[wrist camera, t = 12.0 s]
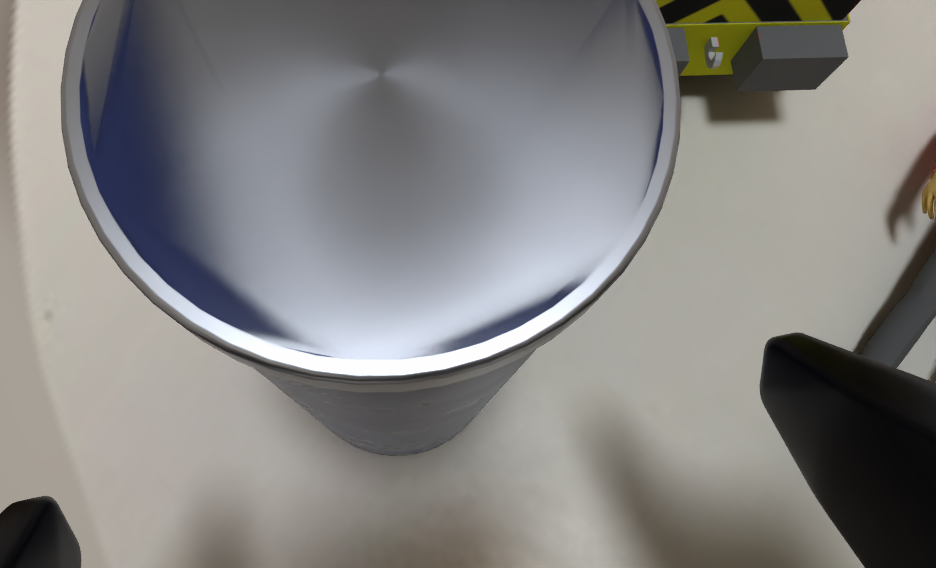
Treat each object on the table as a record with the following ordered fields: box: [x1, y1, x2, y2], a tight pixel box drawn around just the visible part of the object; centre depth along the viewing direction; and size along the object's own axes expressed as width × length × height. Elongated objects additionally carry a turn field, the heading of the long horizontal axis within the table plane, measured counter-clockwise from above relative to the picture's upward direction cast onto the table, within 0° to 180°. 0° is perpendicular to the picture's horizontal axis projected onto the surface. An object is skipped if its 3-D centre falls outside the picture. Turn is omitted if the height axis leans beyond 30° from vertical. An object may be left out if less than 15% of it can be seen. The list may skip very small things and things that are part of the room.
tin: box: [61, 0, 681, 456], centre depth 13 cm, size 5×5×14 cm
